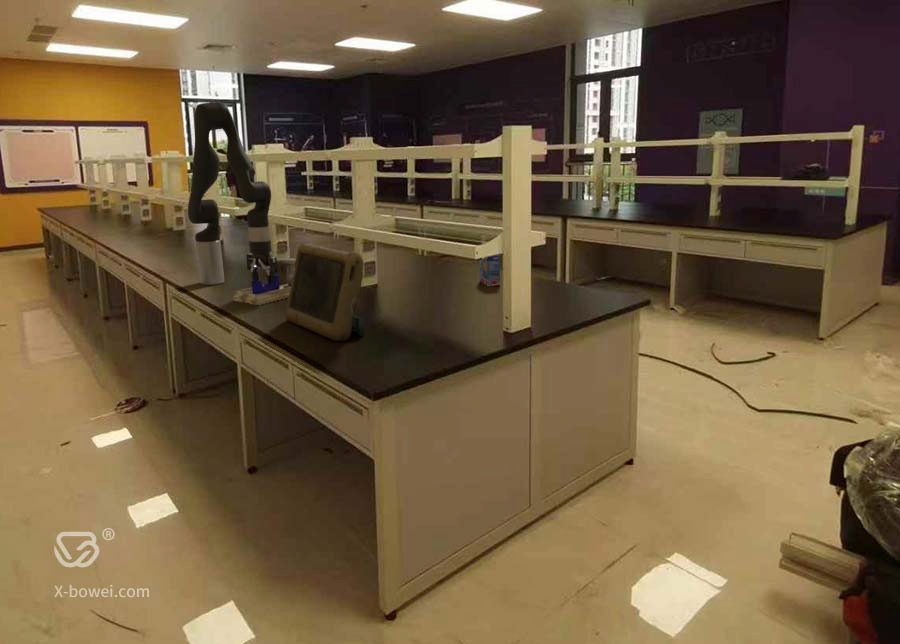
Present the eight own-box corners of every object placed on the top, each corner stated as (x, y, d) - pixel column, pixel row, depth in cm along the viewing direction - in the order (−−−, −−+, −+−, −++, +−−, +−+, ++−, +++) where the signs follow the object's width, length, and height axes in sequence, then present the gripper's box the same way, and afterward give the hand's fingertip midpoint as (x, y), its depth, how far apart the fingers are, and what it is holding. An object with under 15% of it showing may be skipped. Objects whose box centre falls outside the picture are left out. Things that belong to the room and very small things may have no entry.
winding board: (233, 300, 233) (229, 267, 229) (291, 286, 254) (288, 256, 250) (258, 305, 225) (255, 271, 222) (315, 291, 246) (313, 259, 243)
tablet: (276, 322, 204) (270, 244, 197) (314, 314, 213) (308, 239, 206) (337, 344, 181) (332, 256, 175) (376, 334, 191) (372, 250, 184)
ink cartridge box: (478, 282, 260) (478, 246, 256) (491, 281, 261) (491, 245, 257) (487, 287, 251) (487, 249, 247) (500, 285, 252) (501, 249, 248)
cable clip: (269, 290, 241) (268, 274, 240) (279, 291, 240) (278, 275, 238) (249, 297, 231) (247, 280, 229) (260, 298, 229) (258, 281, 228)
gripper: (238, 238, 231) (242, 283, 235) (264, 242, 223) (268, 288, 227) (255, 236, 237) (259, 279, 241) (281, 239, 229) (284, 284, 233)
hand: (263, 283), depth 234 cm, fingers open, 8 cm apart
